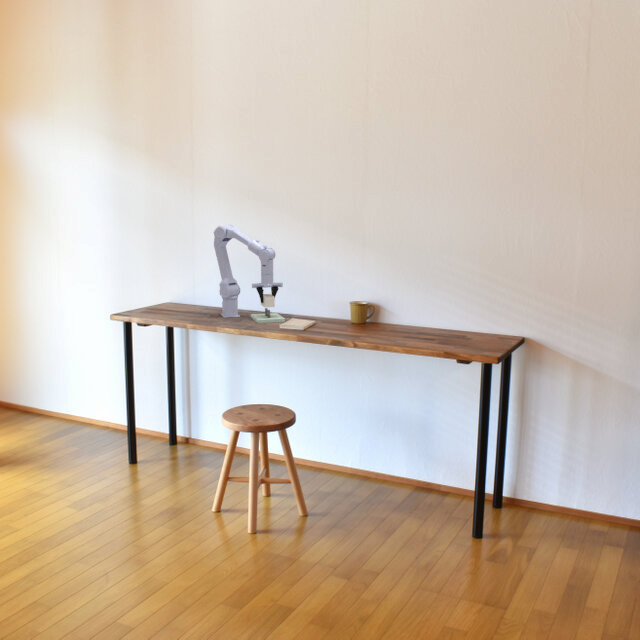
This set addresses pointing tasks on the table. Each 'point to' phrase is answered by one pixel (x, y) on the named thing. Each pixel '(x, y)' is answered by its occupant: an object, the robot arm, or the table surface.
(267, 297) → the beige hollow block
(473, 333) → the table surface
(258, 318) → the pin plate
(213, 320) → the table surface
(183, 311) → the table surface
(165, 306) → the table surface
